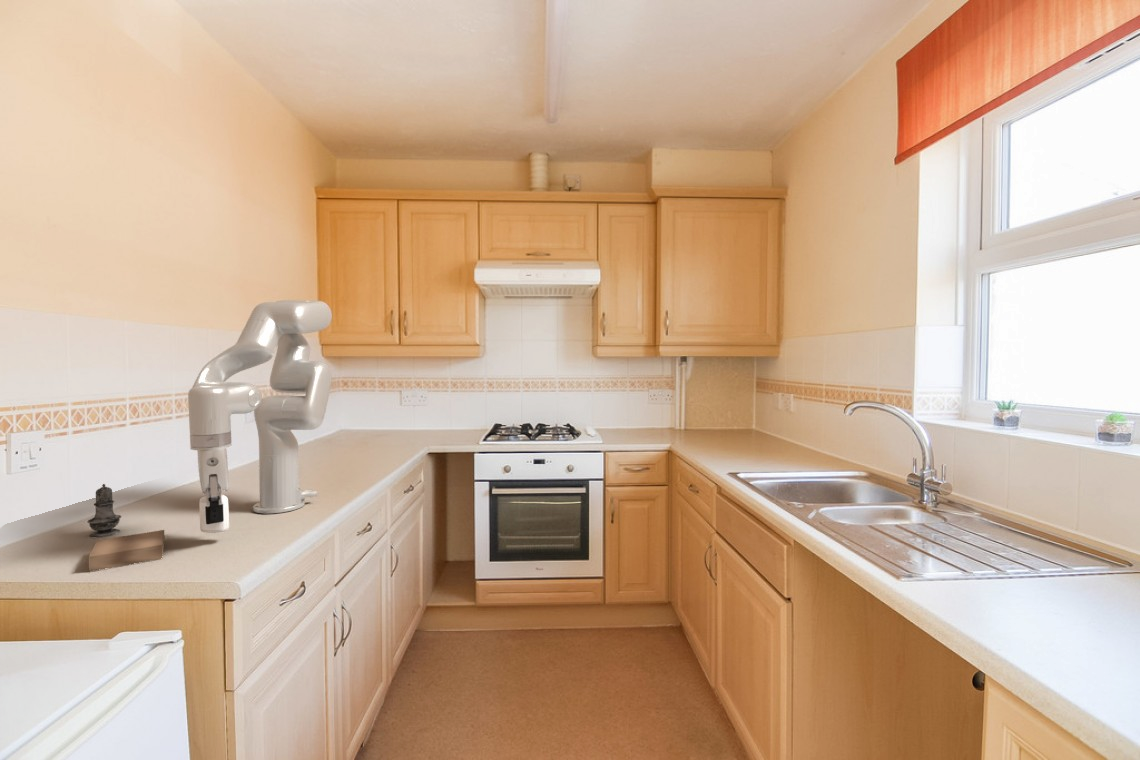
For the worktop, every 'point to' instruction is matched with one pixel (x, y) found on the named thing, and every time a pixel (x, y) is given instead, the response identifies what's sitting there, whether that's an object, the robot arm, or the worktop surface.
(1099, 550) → the worktop surface
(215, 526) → the eye dropper bottle
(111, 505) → the salt shaker
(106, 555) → the walnut stand
